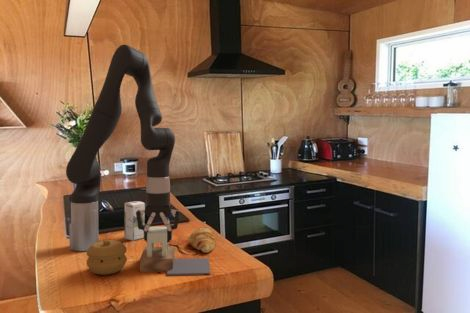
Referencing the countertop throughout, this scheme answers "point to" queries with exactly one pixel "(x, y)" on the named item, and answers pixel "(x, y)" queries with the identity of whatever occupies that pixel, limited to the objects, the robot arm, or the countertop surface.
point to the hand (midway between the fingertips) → (158, 241)
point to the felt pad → (190, 267)
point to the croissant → (203, 240)
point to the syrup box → (133, 220)
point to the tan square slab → (157, 260)
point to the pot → (106, 257)
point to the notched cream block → (157, 240)
